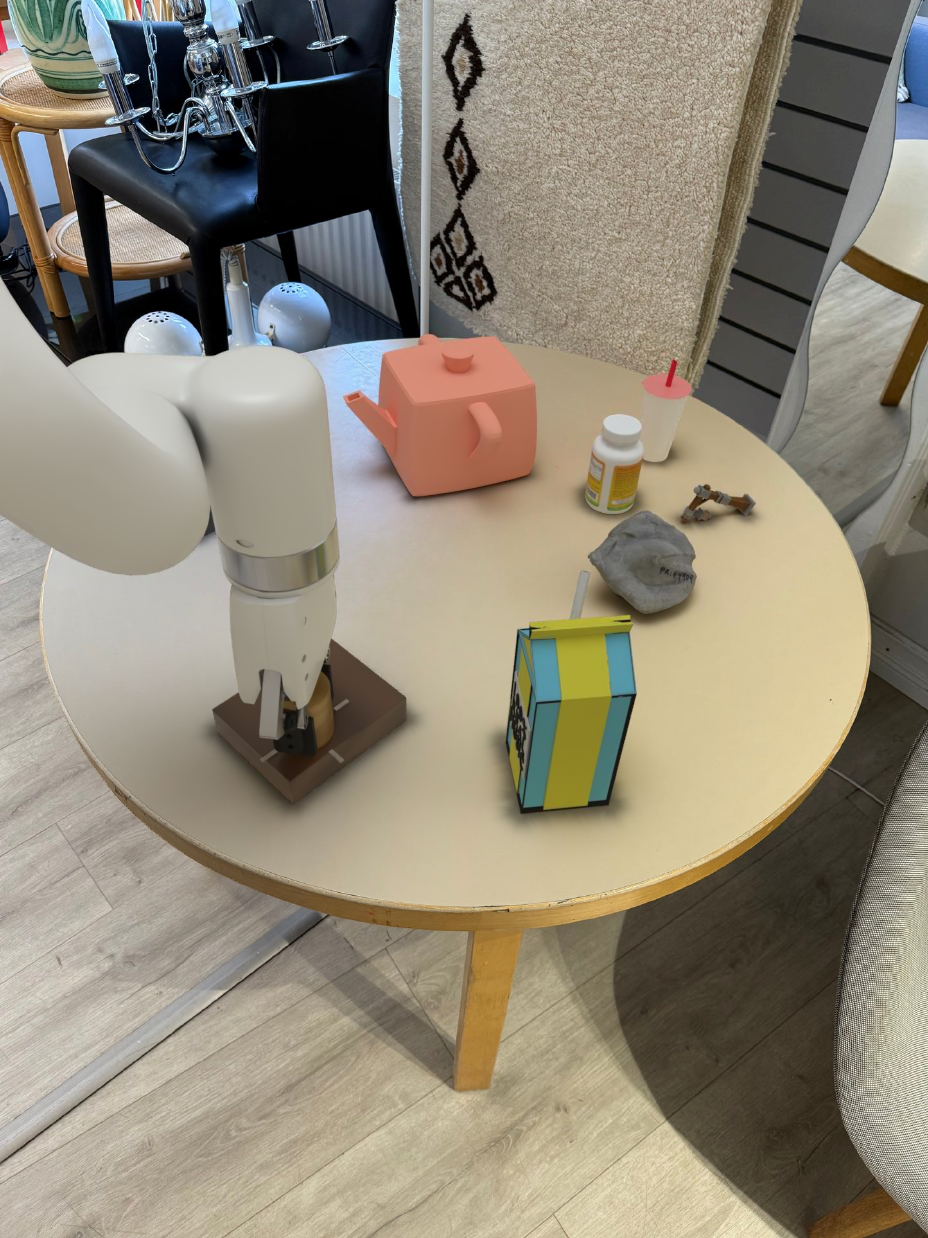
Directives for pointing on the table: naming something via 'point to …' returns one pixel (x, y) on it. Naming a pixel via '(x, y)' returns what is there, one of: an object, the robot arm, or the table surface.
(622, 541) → the fossil
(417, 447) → the teapot
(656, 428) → the cup
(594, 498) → the supplement bottle
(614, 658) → the carton
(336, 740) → the panel
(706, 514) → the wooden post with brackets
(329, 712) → the knob
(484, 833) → the table surface
